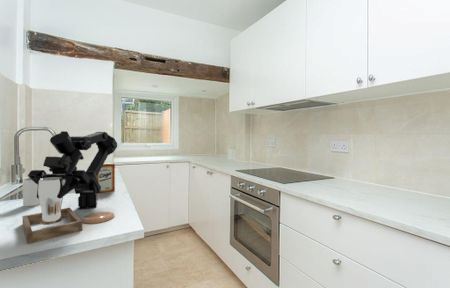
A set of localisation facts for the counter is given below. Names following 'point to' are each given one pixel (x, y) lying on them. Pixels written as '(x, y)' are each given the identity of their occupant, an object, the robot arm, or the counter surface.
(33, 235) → the wooden frame
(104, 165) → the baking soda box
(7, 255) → the counter surface
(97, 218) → the terracotta saucer
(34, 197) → the can
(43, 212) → the silver metal cup
